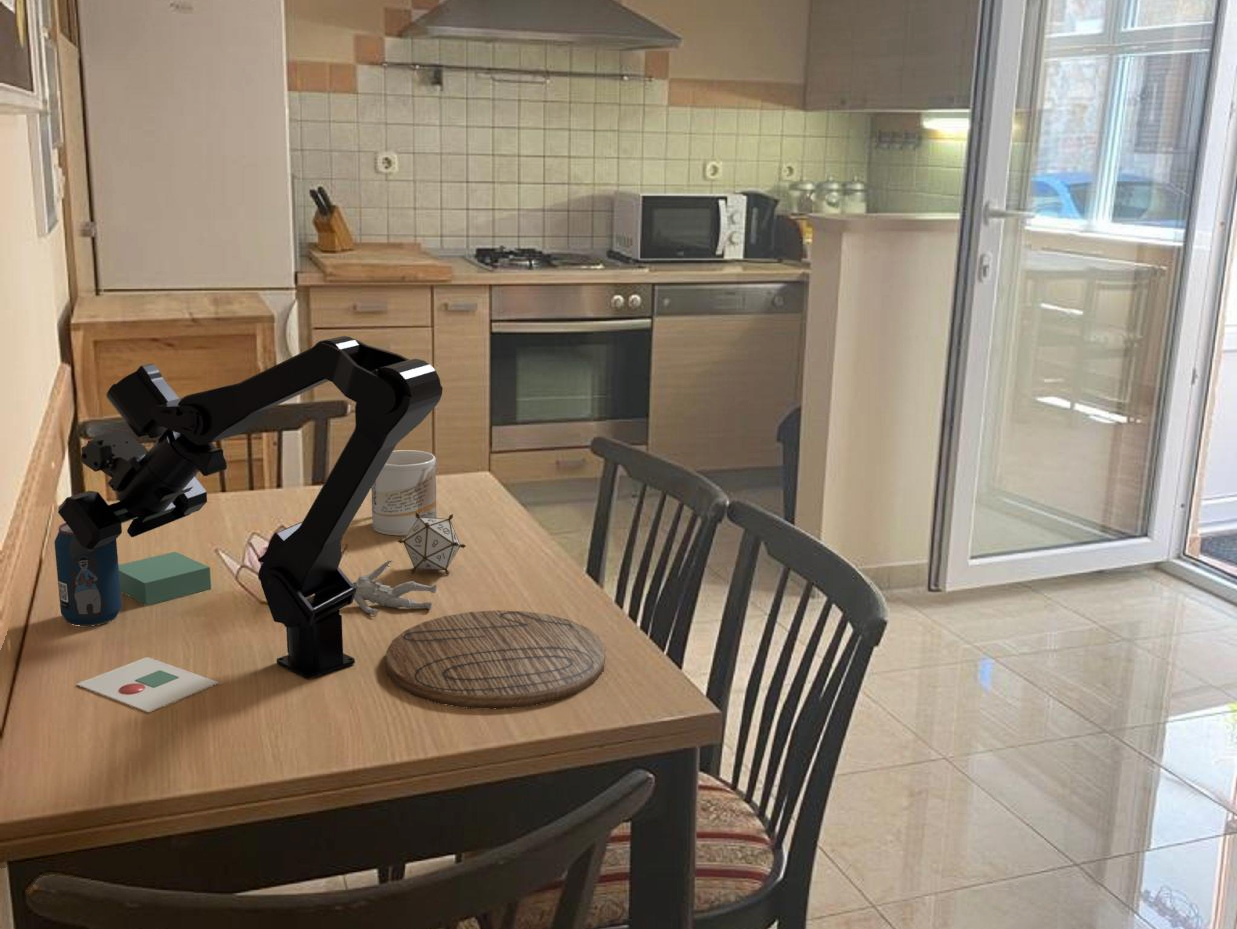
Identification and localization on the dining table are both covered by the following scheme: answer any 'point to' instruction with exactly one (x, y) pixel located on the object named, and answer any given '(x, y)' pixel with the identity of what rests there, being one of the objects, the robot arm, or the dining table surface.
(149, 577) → the base brick
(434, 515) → the mug
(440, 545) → the game die
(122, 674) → the page
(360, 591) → the soldier figure
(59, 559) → the soda can
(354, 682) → the dining table surface
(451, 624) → the trivet
